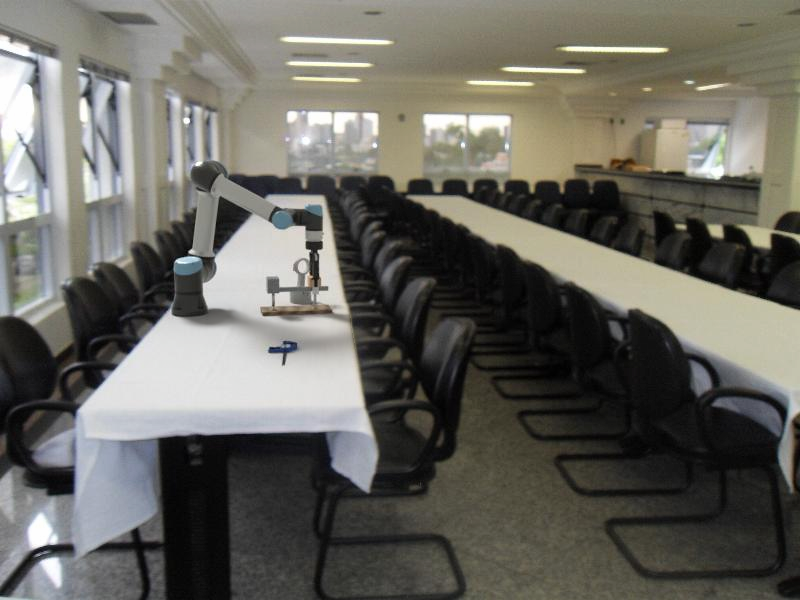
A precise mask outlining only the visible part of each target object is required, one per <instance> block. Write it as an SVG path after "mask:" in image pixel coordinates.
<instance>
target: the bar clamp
mask: <svg viewBox="0 0 800 600" xmlns="http://www.w3.org/2000/svg"><path fill="white" fill-rule="evenodd" d="M297 349H298V342H295V341H292V340H283V341H282V343H281V344H280V345H279V346H276V347H275V346H269V347H268V349H267V350H268V353H270V354H275V353H276V354H277V353H282V364H281V367H285V366H286V358H287V357H286V356H287V353H291V352H293V351H296V350H297Z"/></svg>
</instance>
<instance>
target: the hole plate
mask: <svg viewBox="0 0 800 600" xmlns="http://www.w3.org/2000/svg"><path fill="white" fill-rule="evenodd" d="M260 313H261V316H262V317H263V316H267V315H268V316H289V315H290V316H292V315H294V316H295V315H321V314H322V315H323V314H324V315H326V314H328V315H329V314H333V308H332V307H331V306H330V305H329V304H316V307H314V304H310V305H307V304H306V305H305V304H304V305H303V304H300V305H275V306H274V310H273V306H272V305H271V306H270V305H269V306H260Z"/></svg>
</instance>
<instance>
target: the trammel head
mask: <svg viewBox="0 0 800 600" xmlns="http://www.w3.org/2000/svg"><path fill="white" fill-rule="evenodd" d="M319 277H320V278H319V287H321V286H322V277H321V276H320V275H319ZM311 278H313V276H310V275H307V286H309V287H312V280H311ZM313 305H314V307H316V305H317V294H313Z"/></svg>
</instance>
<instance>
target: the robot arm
mask: <svg viewBox="0 0 800 600" xmlns="http://www.w3.org/2000/svg"><path fill="white" fill-rule="evenodd" d="M228 171H229V170H228V168H227V167H226V166H225V164H224V163H222V162H220V161H218V160H211V159H210V160H200V161H197V162H196V163H194V165H192V167H191V169H190V171H189V172H190V174H189V175H190V179H191V182H192V184H193V185H194V186H195V191H196V193H197V194H198V199H197V204H196V205H197V206H196V216H195V222H194V223H195V225H194V232H193V238H192V239H193V243H192V248H191V249H190V250H188V251H187V252H188V253H187V256H184V257H180V258H179V257H178V258H177V259H176V260H175V261H173V262H174V263H173V276H174V279H173V280H174V298H173V302H172V305H171V308H170V309H171V313H170V314H172V315H173V316H178V317H193V316H194V317H197V316H202V315H206V314H207V313H209V306H208V304H207V302H206V299H205V295H204V284H205V283H209V282H210V281H211V280H212V279H213V278H214V277H215V275H216V273H217V270H218V269H217V268H218V267H217V263H216V260H215V259H216V253H215V252H214V251H213V248H214V240H215V233H216V225H217V224H216V223H217V216H218V215H217V214H218V207H219V199H220V197H222V198H223V199H225V200H227V201H229V202H231V203H233V204H235V205H236V206H238V207H241V208H243V209H244V210H246V211H248V212H250V213H252V214H253V215H255V216H257V217H259V218H261V219H263V220H265V221H267V222H269V223H270V224H272V225H273V227H274V228H275V229H277V230H282V231H283V230H287V229H289V228H291V227H305V229H304V230H305V231H304V232H305V233H304V236H305V237H304V238H305V239H304V240H305V250H309V253H308V257H309V259H308V260H309V272H308V273H309V276H313V278H311V280H312V291H311V295H314V294H316V295H319V294H320V291H319V278H320V277H321V276H320V254H319V251H322V250H323V249H324V241H323V239H324V238H323V237H324V236H323V235H325V232H323V231H324V229H323V228H324V211H323V206H322V204H319V203H318V204H317V203H309V204H308V203H307V204H305V206H304V208H290V207H289V208H288V207H284V208H281V206H278V205H276V204H274V202H273V203H272V202H271V201H269V200H267V199H265V198H263V197H262V196H260V195H258V194H256V193H254V192H252V191H251V190H248V189H247V188H245V187H243V186H240V185H239V184H237V183H235V182H233V181H232V180H230V179H229V172H228ZM319 276H320V277H319Z"/></svg>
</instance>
